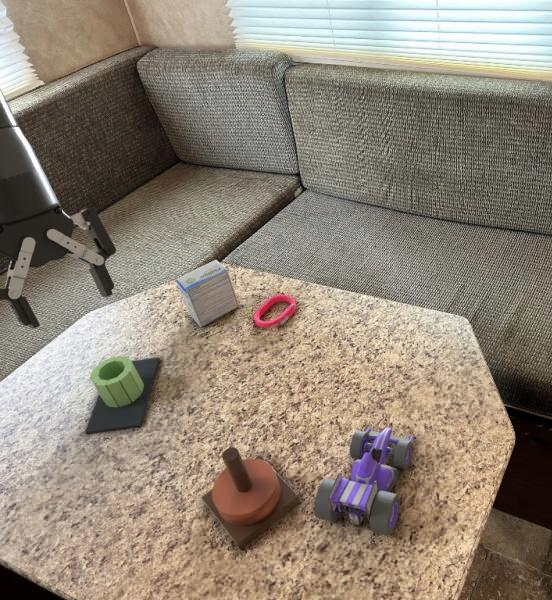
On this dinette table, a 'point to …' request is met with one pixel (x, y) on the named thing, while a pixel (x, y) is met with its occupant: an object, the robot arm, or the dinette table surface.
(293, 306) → the fitness band
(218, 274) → the medicine box
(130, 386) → the green ring
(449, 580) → the dinette table surface
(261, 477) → the stand
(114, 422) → the mat
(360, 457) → the toy race car
